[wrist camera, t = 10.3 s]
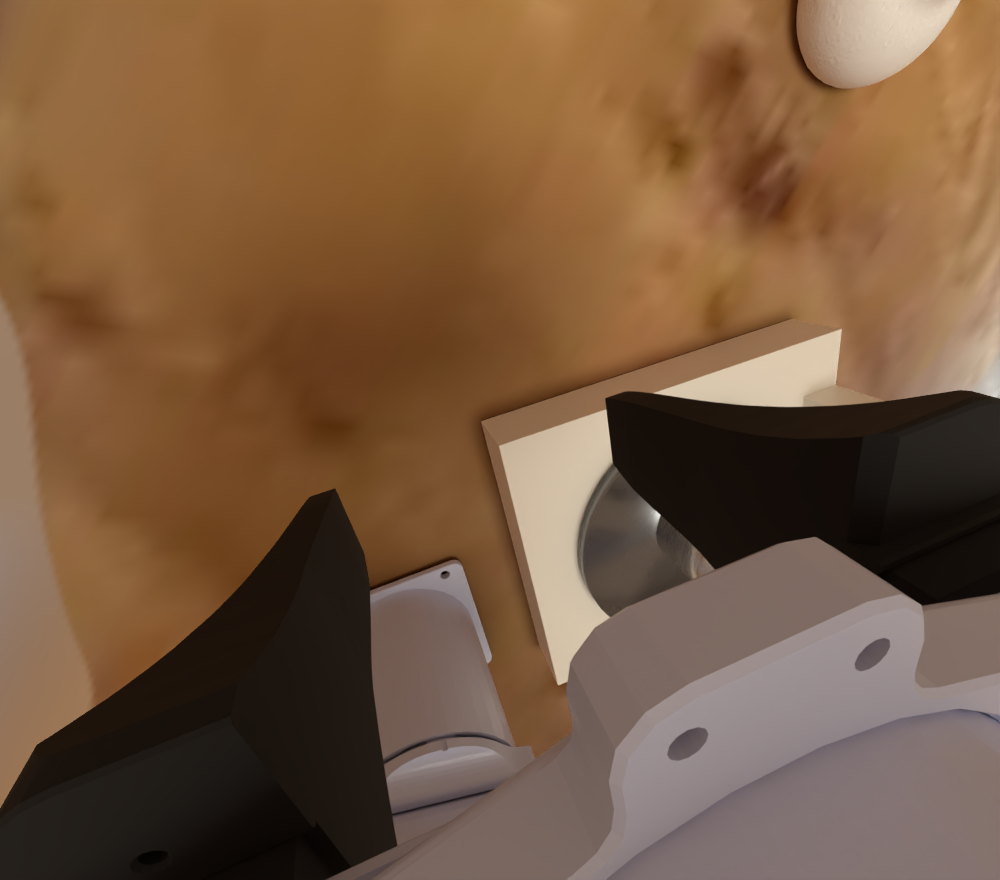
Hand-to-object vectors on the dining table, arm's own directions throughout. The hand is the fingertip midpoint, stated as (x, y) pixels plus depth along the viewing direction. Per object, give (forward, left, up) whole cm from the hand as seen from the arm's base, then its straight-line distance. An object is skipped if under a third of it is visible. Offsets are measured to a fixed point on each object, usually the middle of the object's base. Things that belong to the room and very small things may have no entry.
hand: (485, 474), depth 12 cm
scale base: (+11, -11, -10) cm, 19 cm away
